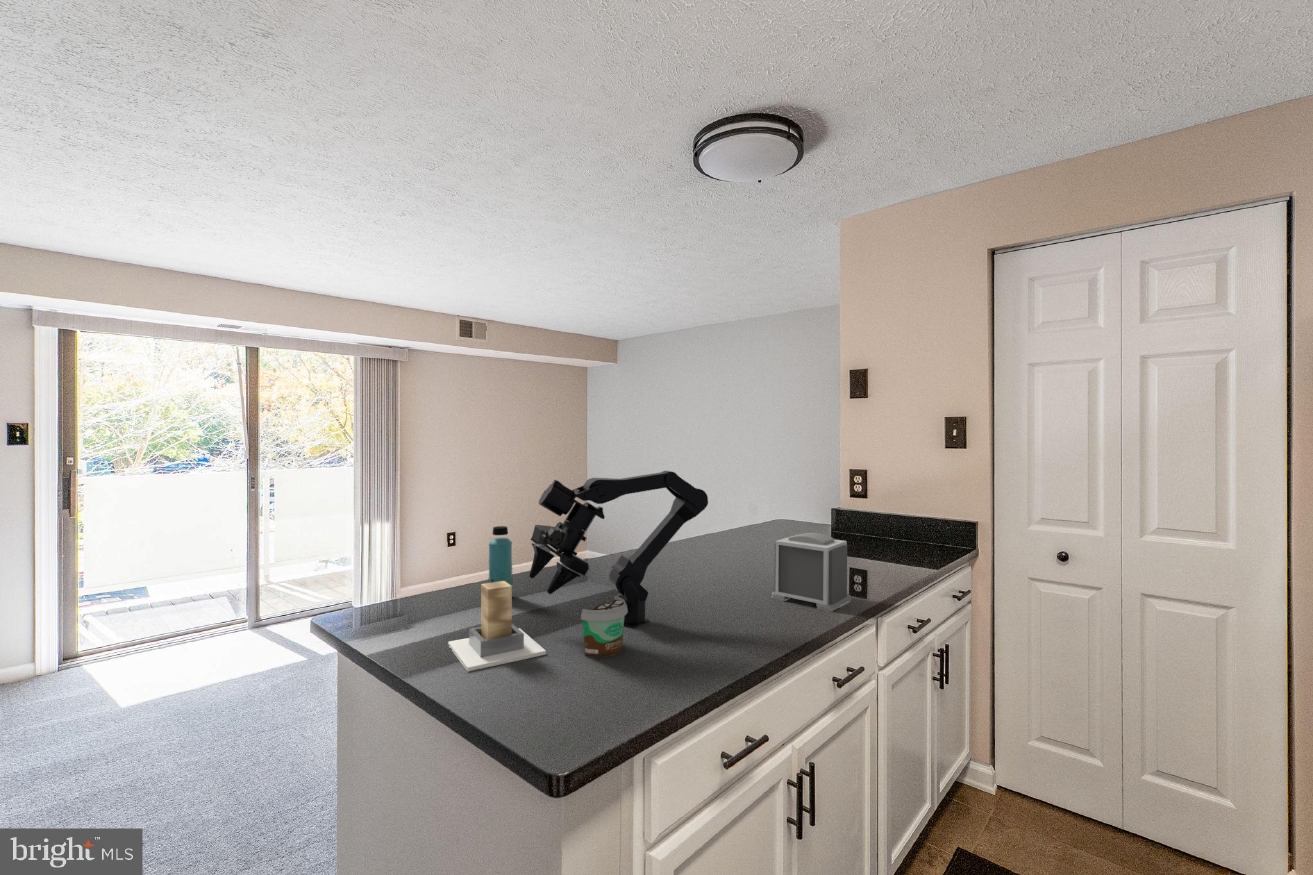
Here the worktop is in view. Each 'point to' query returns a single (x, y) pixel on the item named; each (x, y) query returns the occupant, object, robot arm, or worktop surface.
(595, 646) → the food container
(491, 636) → the pine post
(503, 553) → the beverage bottle
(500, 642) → the metal collar
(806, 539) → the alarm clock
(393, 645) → the worktop surface
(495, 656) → the base plate
